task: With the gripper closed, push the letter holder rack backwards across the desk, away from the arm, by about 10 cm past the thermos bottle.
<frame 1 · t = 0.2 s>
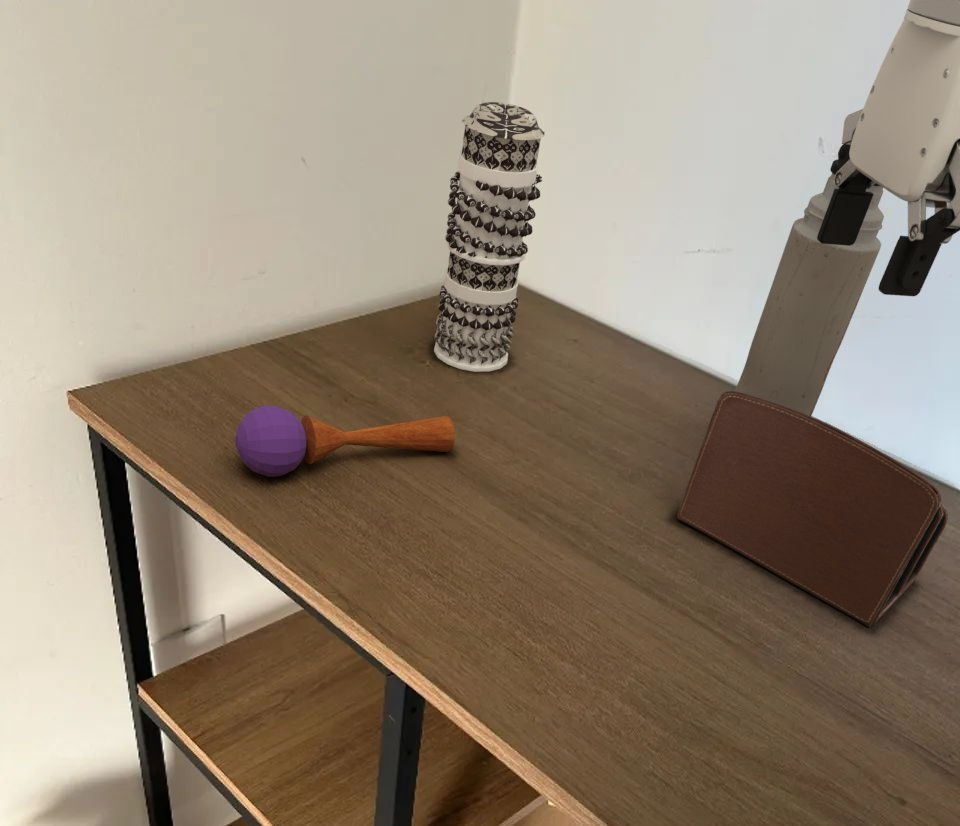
hand: (864, 267, 74), 24 cm above the table, tool pointing down, fingers open, 9 cm apart
letter holder: (791, 552, 88), on the table
thermos bottle: (754, 451, 101), on the table
white patterned cylinder: (471, 355, 108), on the table
kendama: (346, 463, 88), on the table
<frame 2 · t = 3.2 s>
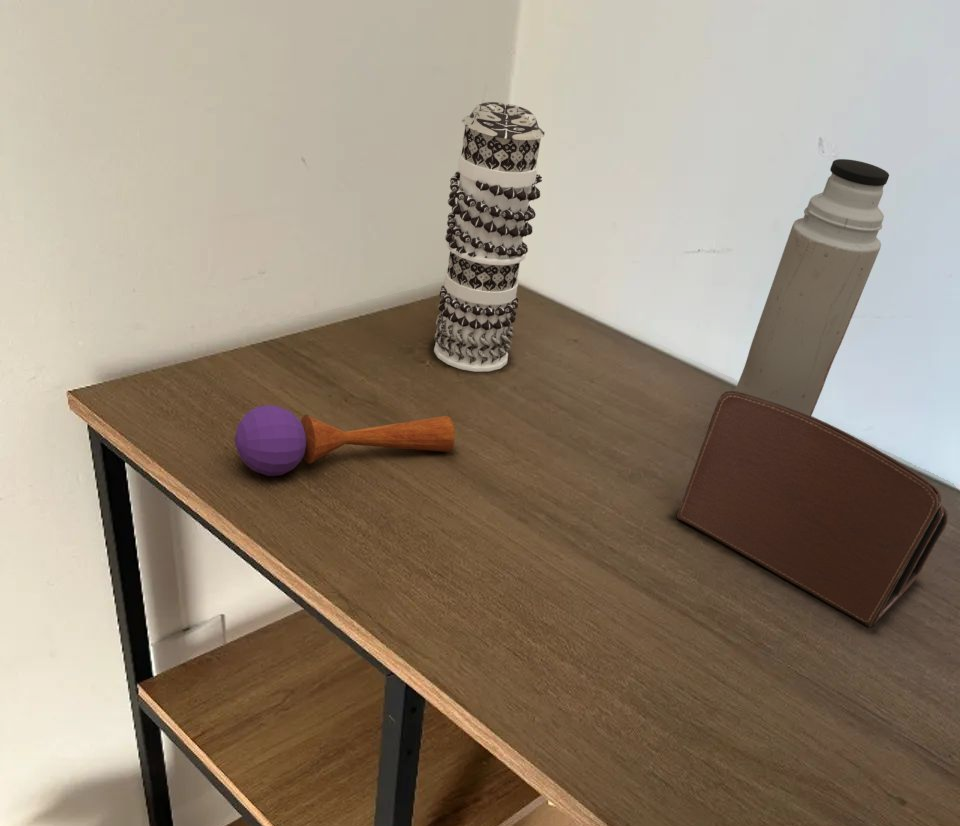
nothing on the table moved.
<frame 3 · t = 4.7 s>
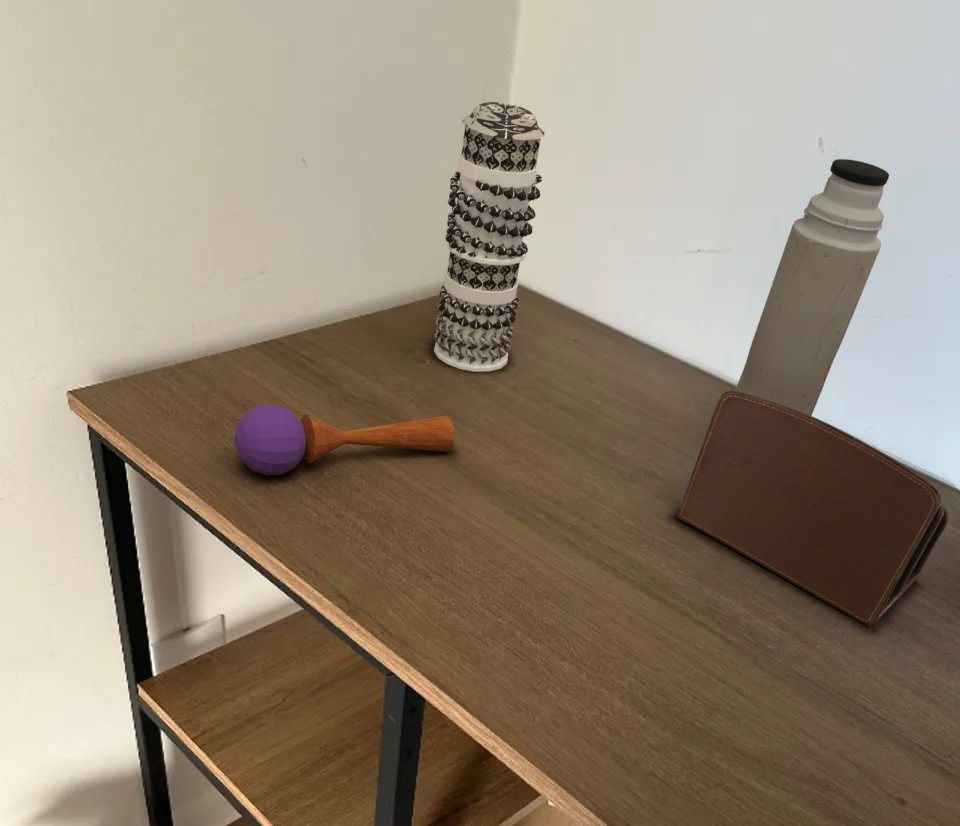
nothing on the table moved.
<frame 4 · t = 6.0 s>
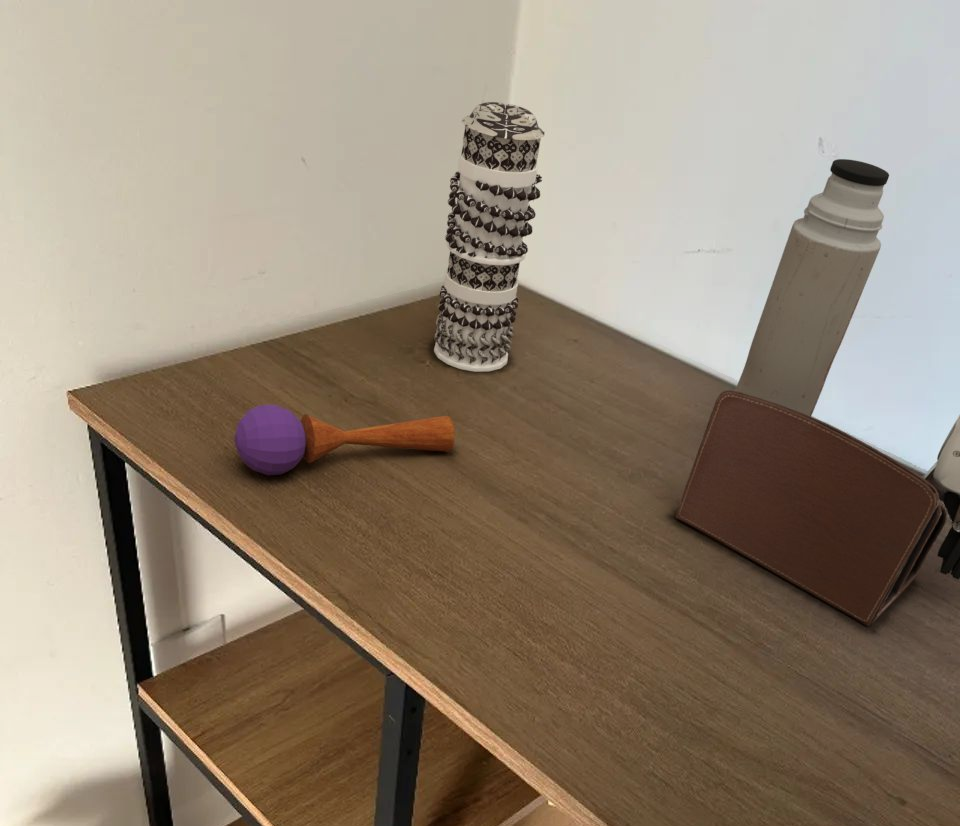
hand: (951, 567, 81), 4 cm above the table, tool pointing down, fingers closed
letter holder: (790, 552, 88), on the table, touching gripper
everything else where it was.
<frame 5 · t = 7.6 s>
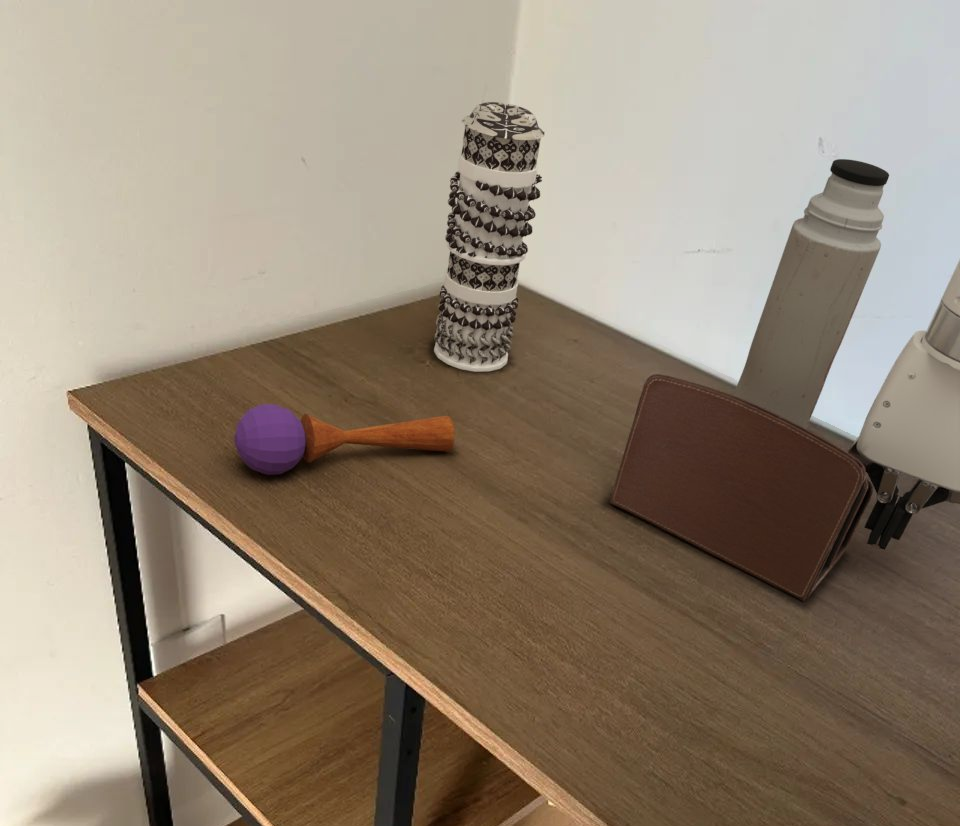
hand: (878, 539, 83), 4 cm above the table, tool pointing down, fingers closed
letter holder: (724, 531, 89), on the table, touching gripper
everything else where it was.
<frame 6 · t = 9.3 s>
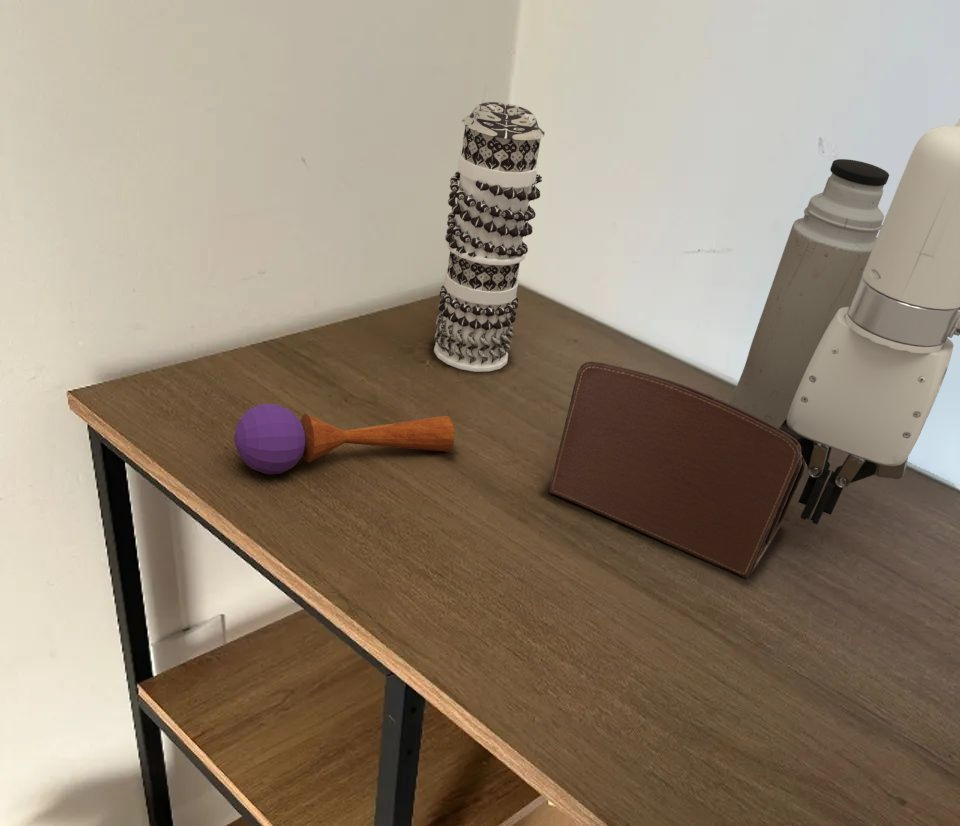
hand: (812, 514, 85), 4 cm above the table, tool pointing down, fingers closed
letter holder: (663, 514, 89), on the table, touching gripper
everything else where it was.
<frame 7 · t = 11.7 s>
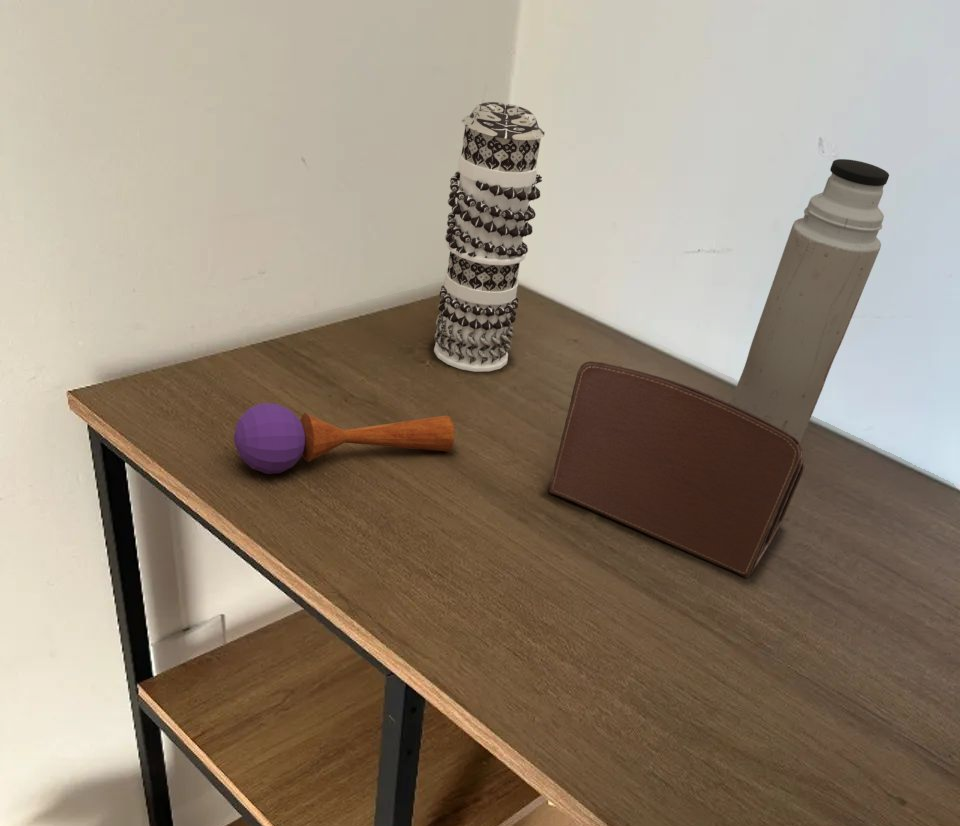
letter holder: (663, 513, 89), on the table
everything else where it was.
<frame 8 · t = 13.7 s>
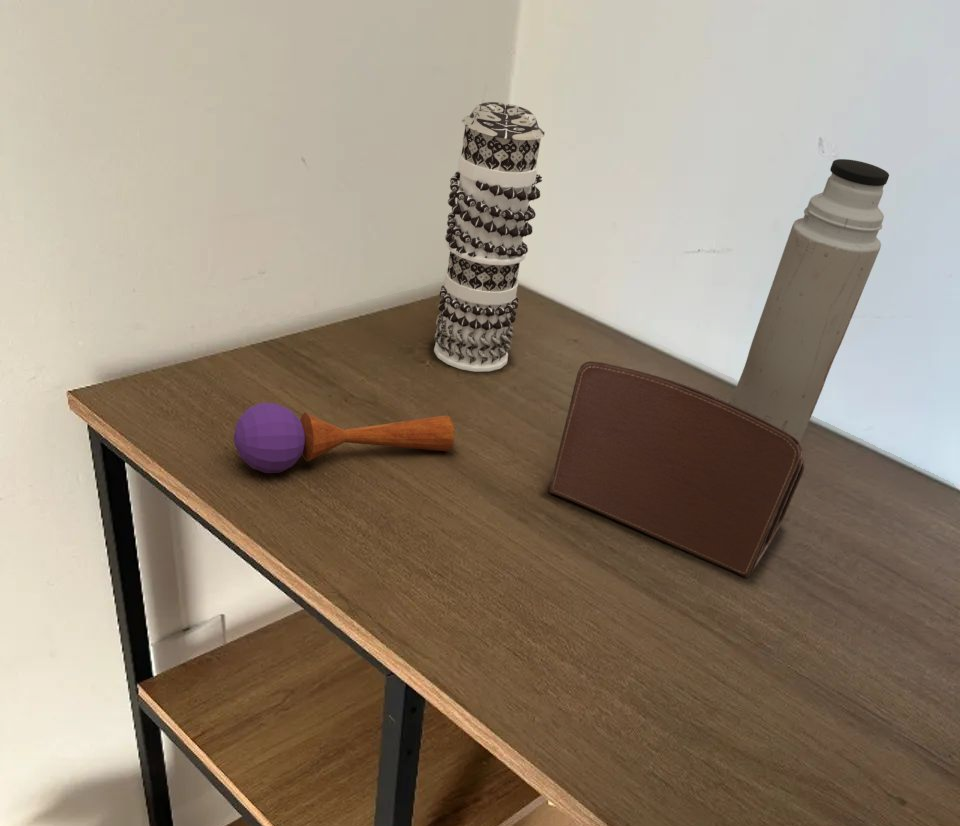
nothing on the table moved.
at the end: letter holder inside the target area (2.0 cm from its centre), on the table; letter holder tilted 0°; thermos bottle moved 0.2 cm from its start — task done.
